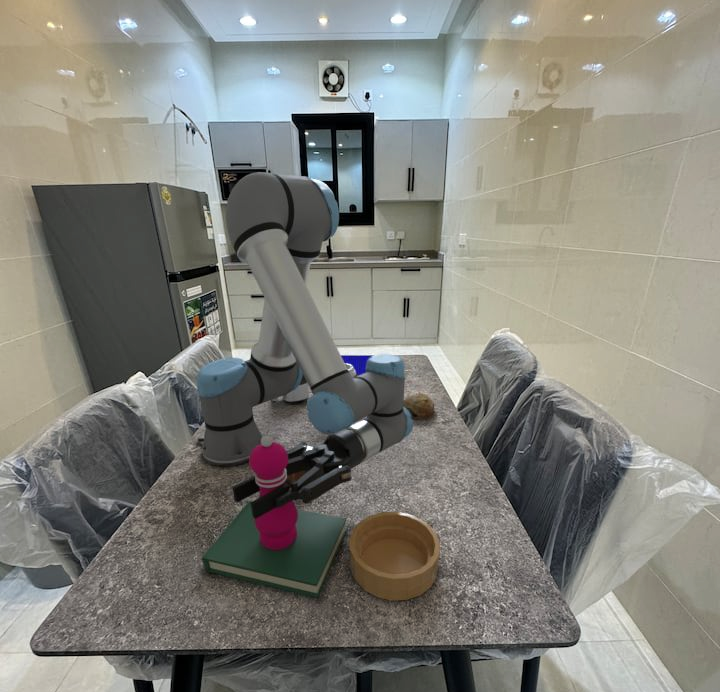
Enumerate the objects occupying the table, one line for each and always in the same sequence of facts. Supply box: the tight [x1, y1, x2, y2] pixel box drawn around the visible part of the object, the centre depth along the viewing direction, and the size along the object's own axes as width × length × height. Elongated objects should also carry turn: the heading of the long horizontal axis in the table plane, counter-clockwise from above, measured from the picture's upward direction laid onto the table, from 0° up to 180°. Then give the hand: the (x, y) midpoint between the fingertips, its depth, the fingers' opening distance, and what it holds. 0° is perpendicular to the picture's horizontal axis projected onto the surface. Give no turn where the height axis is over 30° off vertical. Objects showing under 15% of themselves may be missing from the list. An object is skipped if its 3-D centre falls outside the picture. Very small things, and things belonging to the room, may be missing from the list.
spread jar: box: [271, 374, 310, 405], centre depth 126 cm, size 12×11×12 cm
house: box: [340, 354, 375, 377], centre depth 137 cm, size 12×20×12 cm, turn 86°
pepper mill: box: [248, 435, 298, 550], centre depth 63 cm, size 7×7×20 cm
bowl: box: [349, 511, 441, 602], centre depth 64 cm, size 15×15×5 cm
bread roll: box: [403, 392, 435, 420], centre depth 117 cm, size 10×10×8 cm
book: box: [201, 500, 348, 599], centre depth 67 cm, size 20×15×3 cm
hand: (243, 502), depth 59 cm, fingers closed on pepper mill, 5 cm apart
